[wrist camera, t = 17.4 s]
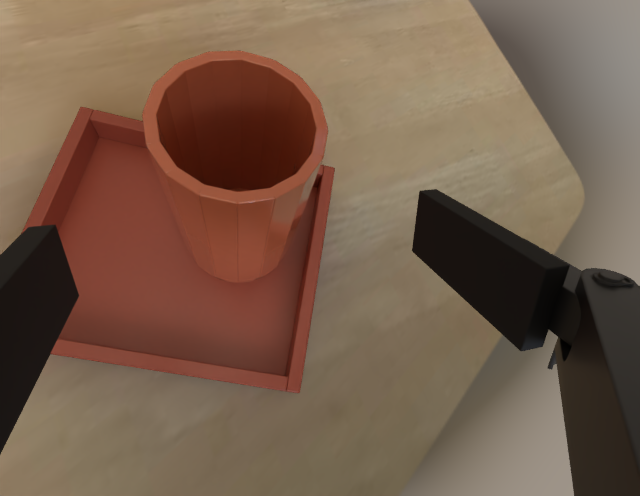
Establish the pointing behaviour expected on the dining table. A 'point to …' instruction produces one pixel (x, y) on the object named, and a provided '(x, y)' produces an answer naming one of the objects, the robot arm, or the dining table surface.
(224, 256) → the terracotta tumbler
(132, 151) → the red tray
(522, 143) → the dining table surface
